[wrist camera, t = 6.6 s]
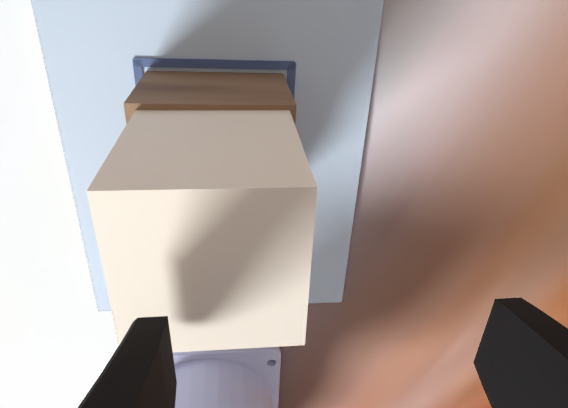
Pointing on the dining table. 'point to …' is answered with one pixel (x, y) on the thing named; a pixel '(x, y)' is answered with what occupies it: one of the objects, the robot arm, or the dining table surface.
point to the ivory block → (208, 227)
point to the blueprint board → (219, 58)
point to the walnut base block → (210, 92)
